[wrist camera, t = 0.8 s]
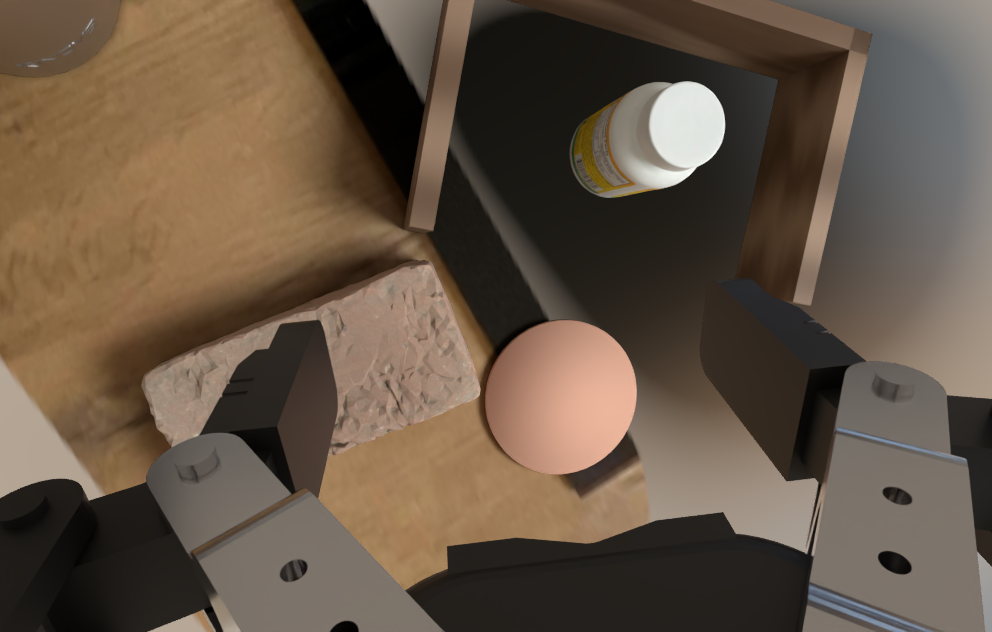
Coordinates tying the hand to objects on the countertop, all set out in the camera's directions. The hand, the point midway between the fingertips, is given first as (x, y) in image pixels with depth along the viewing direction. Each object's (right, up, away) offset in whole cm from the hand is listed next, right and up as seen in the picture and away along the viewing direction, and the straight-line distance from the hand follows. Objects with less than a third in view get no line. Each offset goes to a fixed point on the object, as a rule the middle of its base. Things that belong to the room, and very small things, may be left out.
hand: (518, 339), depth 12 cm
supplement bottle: (+7, +11, +25) cm, 28 cm away
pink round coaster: (+4, -5, +26) cm, 27 cm away
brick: (-11, -3, +23) cm, 26 cm away
